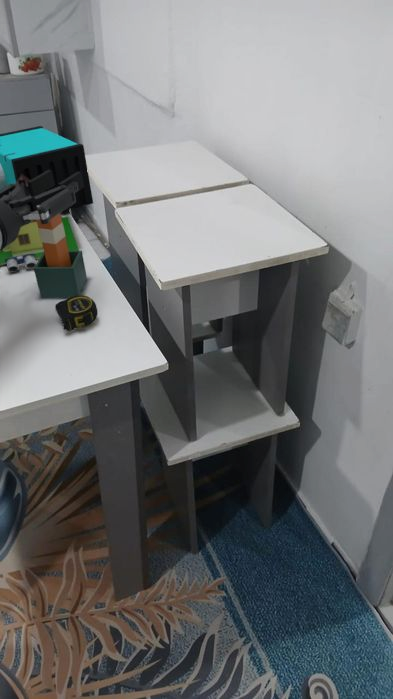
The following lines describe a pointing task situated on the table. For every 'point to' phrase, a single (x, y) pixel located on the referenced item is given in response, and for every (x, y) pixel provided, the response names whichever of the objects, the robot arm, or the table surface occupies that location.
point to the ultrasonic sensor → (14, 261)
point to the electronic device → (43, 159)
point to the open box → (61, 277)
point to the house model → (34, 238)
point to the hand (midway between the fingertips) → (66, 178)
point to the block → (54, 242)
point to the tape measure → (76, 312)
